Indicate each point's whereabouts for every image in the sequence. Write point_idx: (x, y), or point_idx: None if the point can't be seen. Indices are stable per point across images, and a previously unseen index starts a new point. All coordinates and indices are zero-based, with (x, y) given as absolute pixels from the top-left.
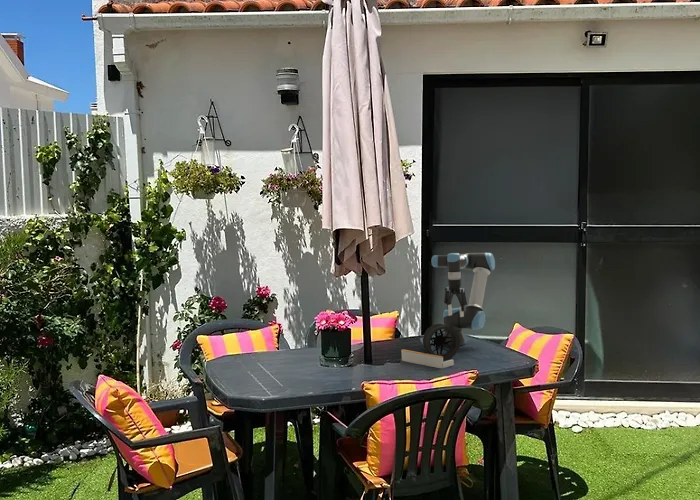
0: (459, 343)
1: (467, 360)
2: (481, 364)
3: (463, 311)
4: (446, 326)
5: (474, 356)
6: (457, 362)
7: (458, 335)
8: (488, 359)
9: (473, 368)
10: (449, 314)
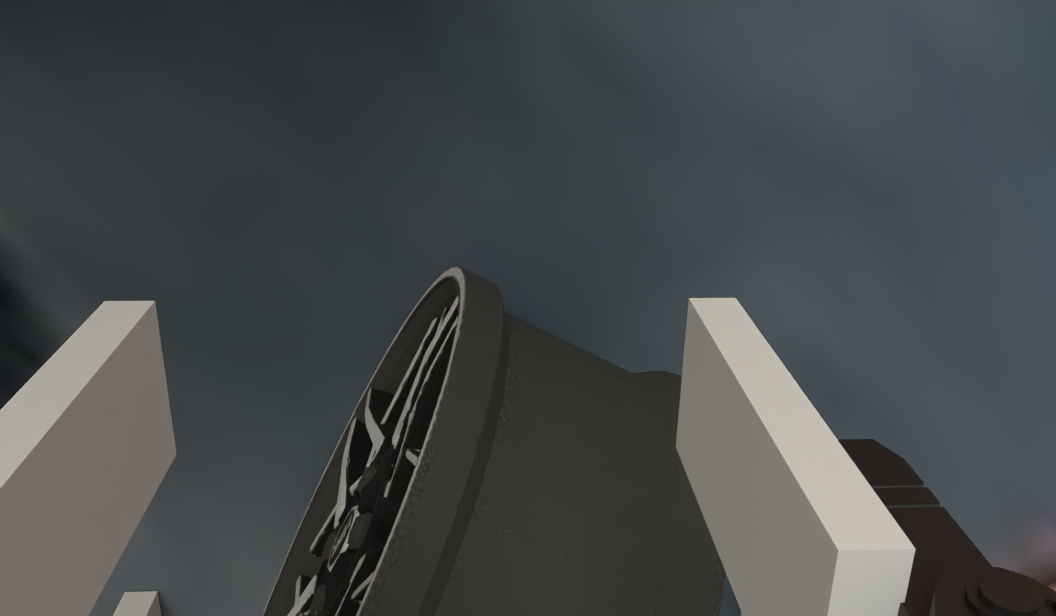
0: None
1: (797, 329)
2: (1049, 383)
3: (794, 388)
4: (429, 608)
5: (759, 92)
6: None
7: None
8: (1023, 123)
9: (1042, 559)
10: (161, 465)
